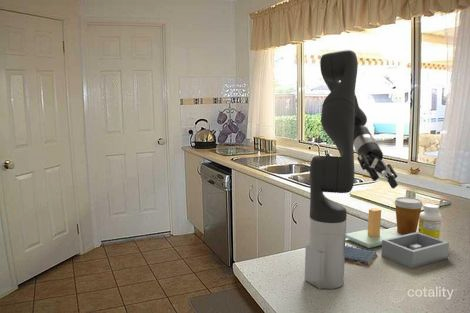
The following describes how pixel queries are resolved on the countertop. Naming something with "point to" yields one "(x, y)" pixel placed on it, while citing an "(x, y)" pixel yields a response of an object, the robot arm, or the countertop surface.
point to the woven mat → (359, 256)
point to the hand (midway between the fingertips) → (385, 183)
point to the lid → (371, 231)
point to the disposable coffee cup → (407, 214)
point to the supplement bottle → (430, 221)
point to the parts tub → (415, 249)
